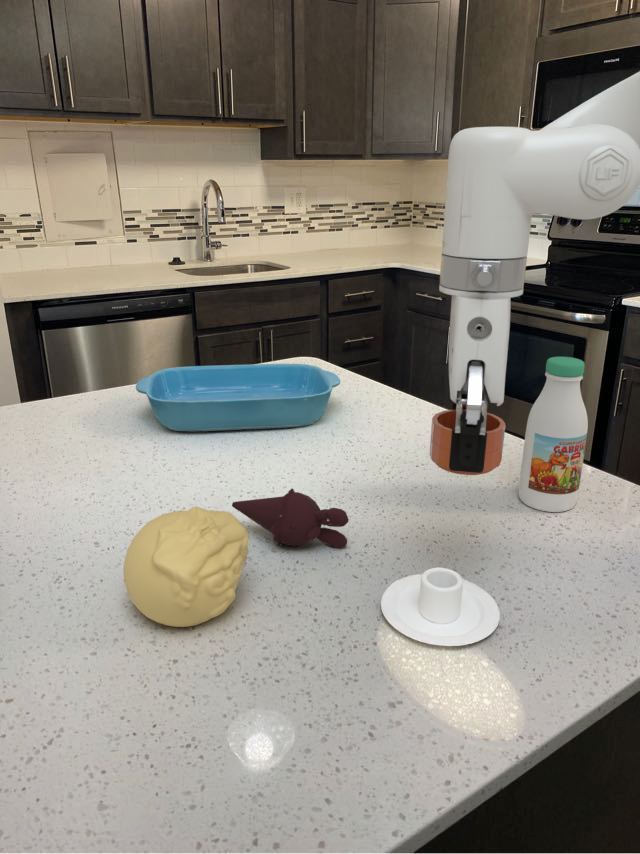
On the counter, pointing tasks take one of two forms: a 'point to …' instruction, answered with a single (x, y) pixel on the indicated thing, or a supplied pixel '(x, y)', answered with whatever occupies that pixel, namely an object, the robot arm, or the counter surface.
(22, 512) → the counter surface
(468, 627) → the candle holder
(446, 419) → the bowl
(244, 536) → the sculpture
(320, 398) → the casserole dish
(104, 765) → the counter surface
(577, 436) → the milk bottle
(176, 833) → the counter surface
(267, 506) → the icecream
